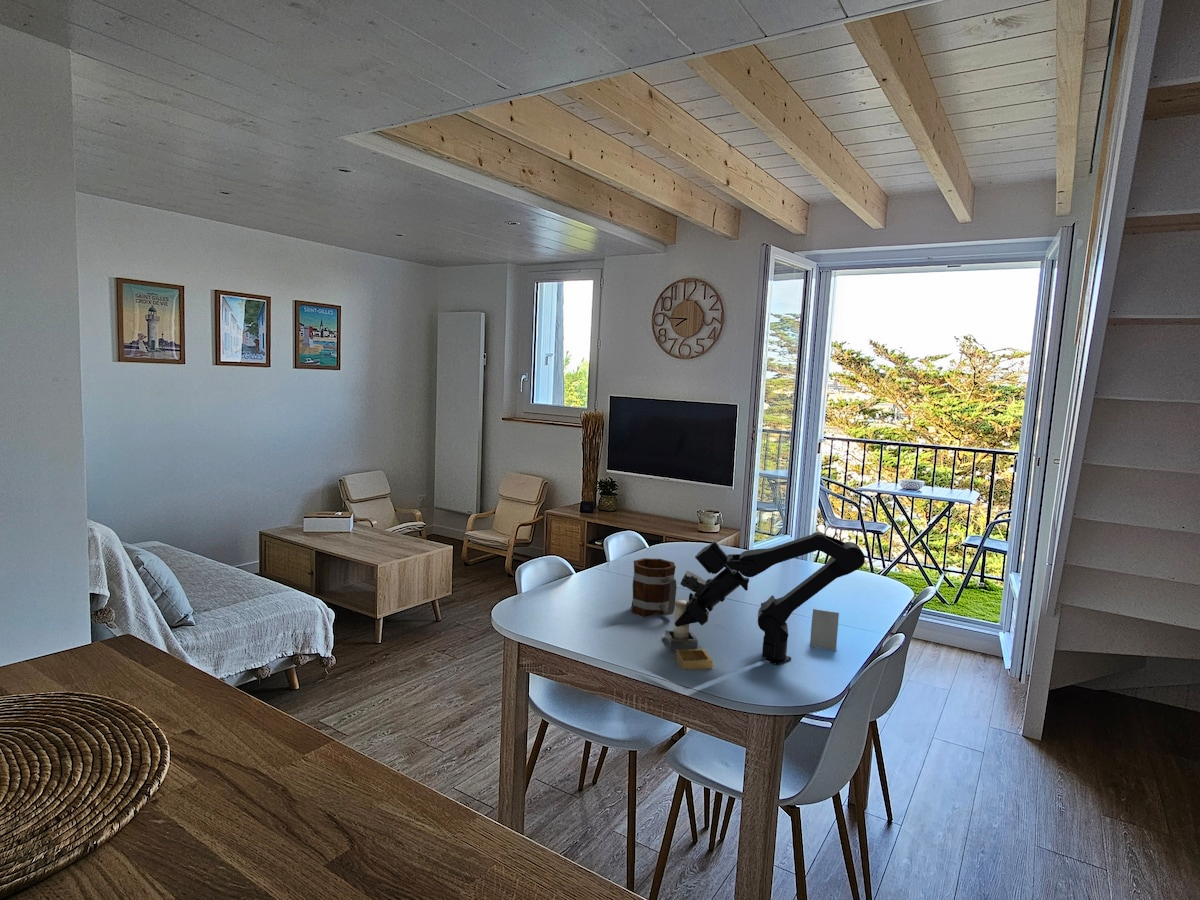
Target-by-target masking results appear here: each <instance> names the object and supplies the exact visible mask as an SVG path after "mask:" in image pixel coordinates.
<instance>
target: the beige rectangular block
mask: <svg viewBox="0 0 1200 900" xmlns="http://www.w3.org/2000/svg"><path fill="white" fill-rule="evenodd" d="M839 616H840V612H838V611H830V610H823V609H817V608H813V609H812V619H811V627H810V639H809V647H811V646H812V647H811V648H817V649H824V650H829V651H835V652H836V651H837V646H838V645H837V642H838V631H839V629H838V628H839V619H840V618H839Z"/></svg>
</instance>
